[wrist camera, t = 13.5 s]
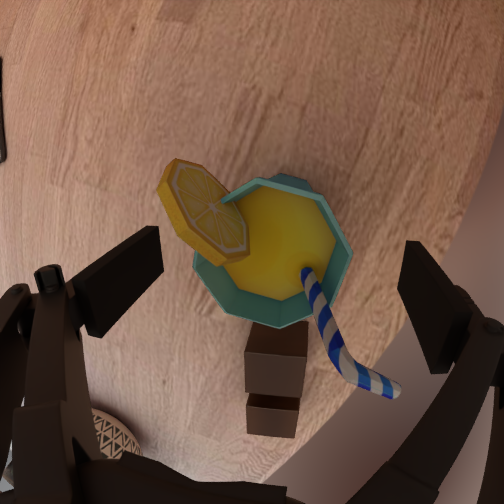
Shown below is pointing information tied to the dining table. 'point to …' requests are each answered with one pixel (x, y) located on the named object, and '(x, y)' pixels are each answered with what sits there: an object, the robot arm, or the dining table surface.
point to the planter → (103, 440)
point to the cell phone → (1, 135)
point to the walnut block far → (272, 415)
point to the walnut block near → (276, 359)
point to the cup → (267, 254)
